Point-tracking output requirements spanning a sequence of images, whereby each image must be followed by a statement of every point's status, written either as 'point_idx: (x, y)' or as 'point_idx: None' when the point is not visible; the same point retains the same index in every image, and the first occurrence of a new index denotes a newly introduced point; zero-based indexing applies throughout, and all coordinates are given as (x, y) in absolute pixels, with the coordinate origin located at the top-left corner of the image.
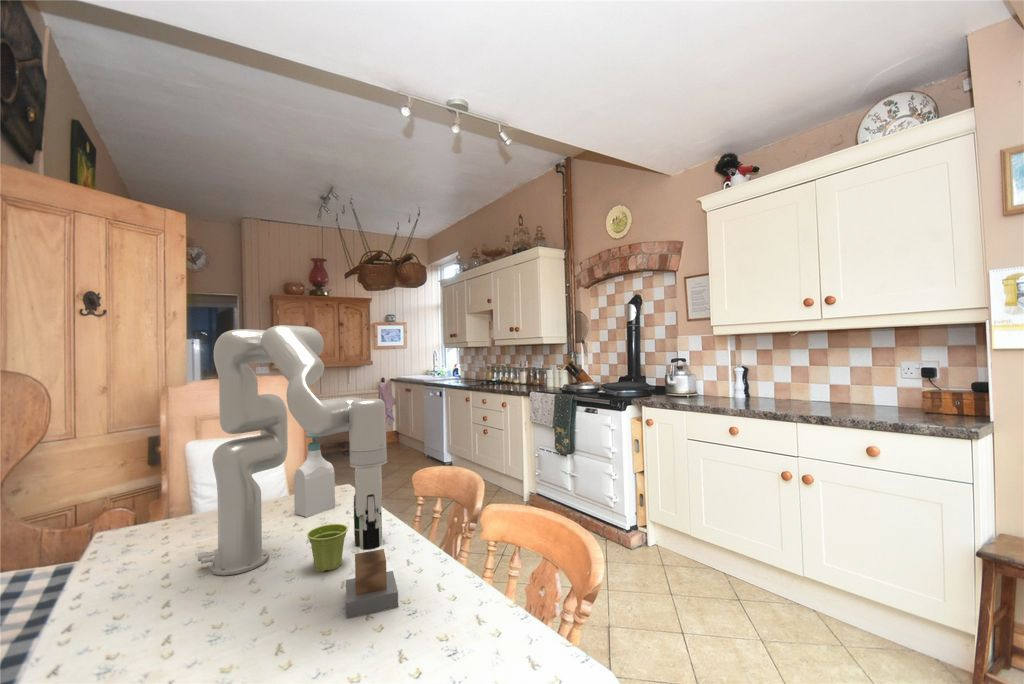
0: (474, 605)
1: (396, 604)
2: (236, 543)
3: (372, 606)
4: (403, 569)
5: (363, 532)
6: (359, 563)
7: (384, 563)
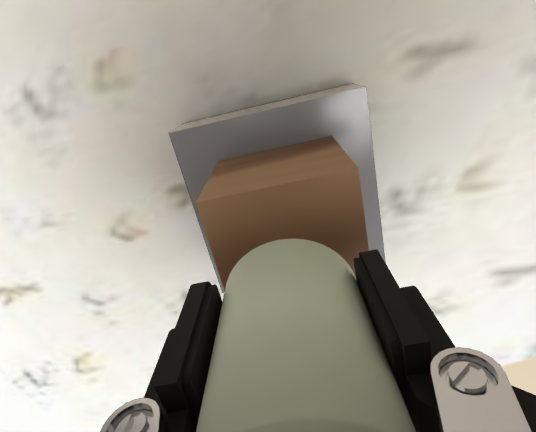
0: None
1: None
2: None
3: None
4: (469, 260)
5: (159, 376)
6: (219, 217)
7: None
